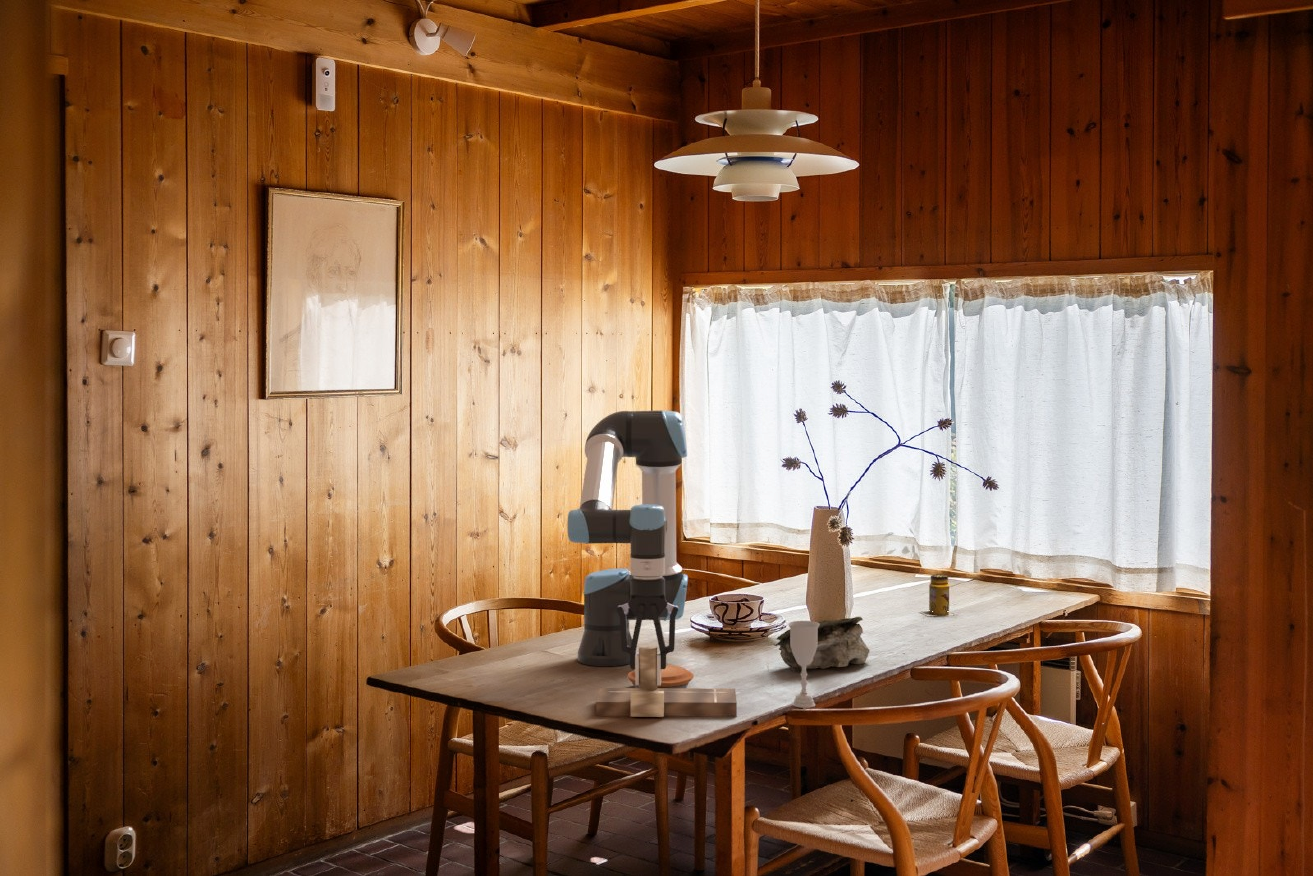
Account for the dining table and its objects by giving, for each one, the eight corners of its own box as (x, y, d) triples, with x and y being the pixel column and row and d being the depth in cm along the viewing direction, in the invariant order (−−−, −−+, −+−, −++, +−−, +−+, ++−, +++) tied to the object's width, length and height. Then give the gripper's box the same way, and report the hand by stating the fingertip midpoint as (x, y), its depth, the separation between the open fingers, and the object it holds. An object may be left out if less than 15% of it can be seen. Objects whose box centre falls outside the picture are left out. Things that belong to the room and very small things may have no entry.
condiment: (954, 615, 370) (954, 576, 370) (928, 616, 369) (928, 577, 368) (943, 611, 377) (944, 573, 377) (918, 612, 376) (918, 574, 375)
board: (596, 715, 258) (596, 701, 258) (601, 701, 270) (601, 687, 270) (736, 716, 257) (736, 702, 257) (735, 702, 269) (735, 688, 269)
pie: (617, 686, 285) (617, 665, 285) (676, 679, 291) (676, 659, 291) (642, 701, 271) (642, 679, 270) (705, 694, 277) (704, 672, 277)
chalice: (807, 710, 262) (807, 628, 261) (781, 705, 266) (781, 624, 266) (826, 704, 267) (826, 623, 267) (800, 698, 272) (800, 619, 271)
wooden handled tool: (630, 716, 256) (630, 653, 255) (633, 702, 267) (633, 642, 267) (663, 716, 256) (663, 653, 255) (665, 702, 267) (664, 642, 266)
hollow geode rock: (781, 694, 295) (807, 658, 285) (757, 651, 302) (782, 615, 293) (867, 675, 310) (895, 641, 300) (843, 635, 317) (869, 600, 307)
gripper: (606, 579, 257) (607, 688, 258) (686, 579, 256) (687, 688, 257) (609, 573, 264) (610, 679, 265) (687, 574, 264) (687, 680, 265)
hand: (648, 683), depth 261 cm, fingers closed on wooden handled tool, 4 cm apart
